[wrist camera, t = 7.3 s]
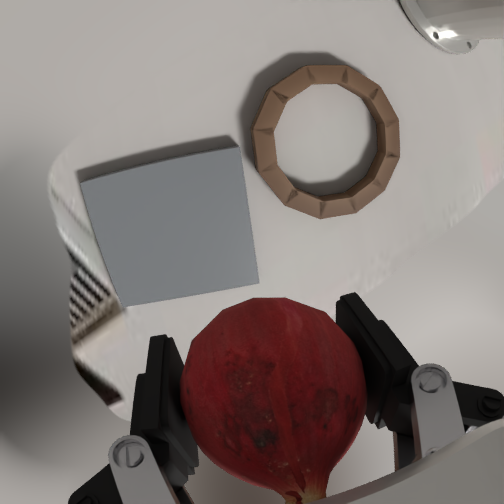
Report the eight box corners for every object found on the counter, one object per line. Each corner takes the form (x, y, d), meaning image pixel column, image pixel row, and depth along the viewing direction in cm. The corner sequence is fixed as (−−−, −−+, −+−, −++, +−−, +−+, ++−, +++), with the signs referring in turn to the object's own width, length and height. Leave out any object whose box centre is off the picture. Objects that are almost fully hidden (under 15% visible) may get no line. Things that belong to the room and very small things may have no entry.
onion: (153, 294, 11) (130, 508, 4) (297, 231, 11) (432, 413, 4) (220, 384, 14) (245, 543, 7) (333, 338, 14) (412, 485, 6)
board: (238, 145, 25) (239, 146, 24) (257, 276, 31) (259, 283, 30) (84, 179, 24) (79, 183, 23) (124, 300, 30) (122, 307, 29)
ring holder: (385, 69, 23) (394, 68, 22) (390, 201, 29) (398, 206, 28) (242, 72, 22) (244, 69, 21) (262, 221, 28) (266, 228, 27)
